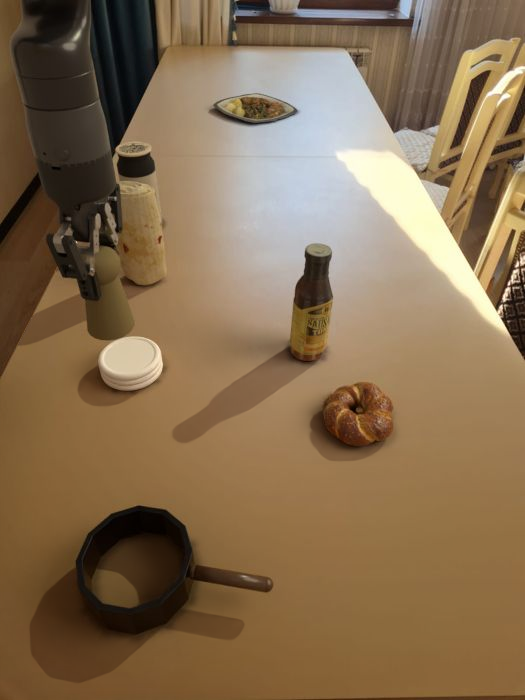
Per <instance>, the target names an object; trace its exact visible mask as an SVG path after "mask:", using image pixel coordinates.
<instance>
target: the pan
mask: <svg viewBox="0 0 525 700" xmlns="http://www.w3.org/2000/svg"><path fill="white" fill-rule="evenodd" d="M143 533H146V534H147V533H149V534H153V535H159V536H160V535H161V536H165V537H168V538H169V539H170V540H171V541H172V542H174V543H175V544H176V545H177V546H178V547H179V548H180V549H181V550H183V553H184V558H183V561H182V565H181V568H180V572H179V575H178V578H176V579H175V581H174V582H173V583H171V585H169V586H168V588H166V590H165V591H164V592H162V594H161V595H160V596H159V597H158V598H155V599H153V600H150V601H147V602H143V603H141V604H138V605H135V606H133V607H124V606H118V605H114V604H108V603H103V602H102V601H101V600H100V599H99V598H98V597H97V596H96V595H95V594H94V591H93V584H92V579H93V578H94V575H95V573H96V571H97V568H98V565H99V563H100V561H101V558H102V557H103V556H104V555H106V553H108V552H109V551H110V550H111V549H112V548H113V547H115V545H116V544H117V543H119V542H120V541H121V540H124V539H128V538H130V537H133V536H136V535H137V536H138V535H140V534H143ZM191 543H192V542H191V540H190V537H189V533H188V530H187V526H186V525H185V524H184V523H183V522H182V521H181V520H179V519H178V518H177V517H176V516H174V515H173V514H172V513H171V512H170V511H168V510H167V509H166V508H165V509H164V508H159V507H151V506H146V505H140V504H139V505H135V506H131V507H128V508H125V509H122V510H119V511H115V512H112V513H110V514H109V515H108V516H106V517H105V518H104V519H103V520H102V521H101V522H99V523H98V524H97V525H96V526H95V527H93V529H91V530H90V531H89V532H88V533H87V534H86V537H85V539H84V541H83V543H82V546H81V547H80V550H79V553H78V555H77V557H76V559H75V569H76V578H77V579H76V580H77V586H78V588H77V589H78V591H79V593H80V595H81V597H82V599H83V600H84V603H85V605H86V607H87V609H88V611H90V612H91V614H93V616H94V617H95V618H96V620H98V621H99V622H100V623H101V624H102V625H103V626H104V627H105V628H106V629H107V630H111V631H117V632H122V633H126V634H127V633H128V634H131V635H132V634H133V635H139V634H142V633H144V632H147V631H151V630H152V629H156V628H158V627H161V626H164V625H166V624H168V623H169V621H170V620H171V619H172V618H173V617H174V616H175V615H176V614H177V613H178V612H179V611H180V609H182V608H183V606H185V604H186V603H187V602H188V601H189V600H190V596H191V592H192V588H193V584H194V581H197V582H201V583H208V584H214V585H220V586H225V587H231V588H236V589H242V590H247V591H254V592H260V593H265V594H267V593H270V592H272V590H273V588H274V582H273V580H272V578H271V577H270V576H264V575H259V574H253V573H247V572H241V571H236V570H229V569H223V568H218V567H212V566H206V565H200V564H196V563H195V558H194V551H193V547H192V544H191Z"/></svg>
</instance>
